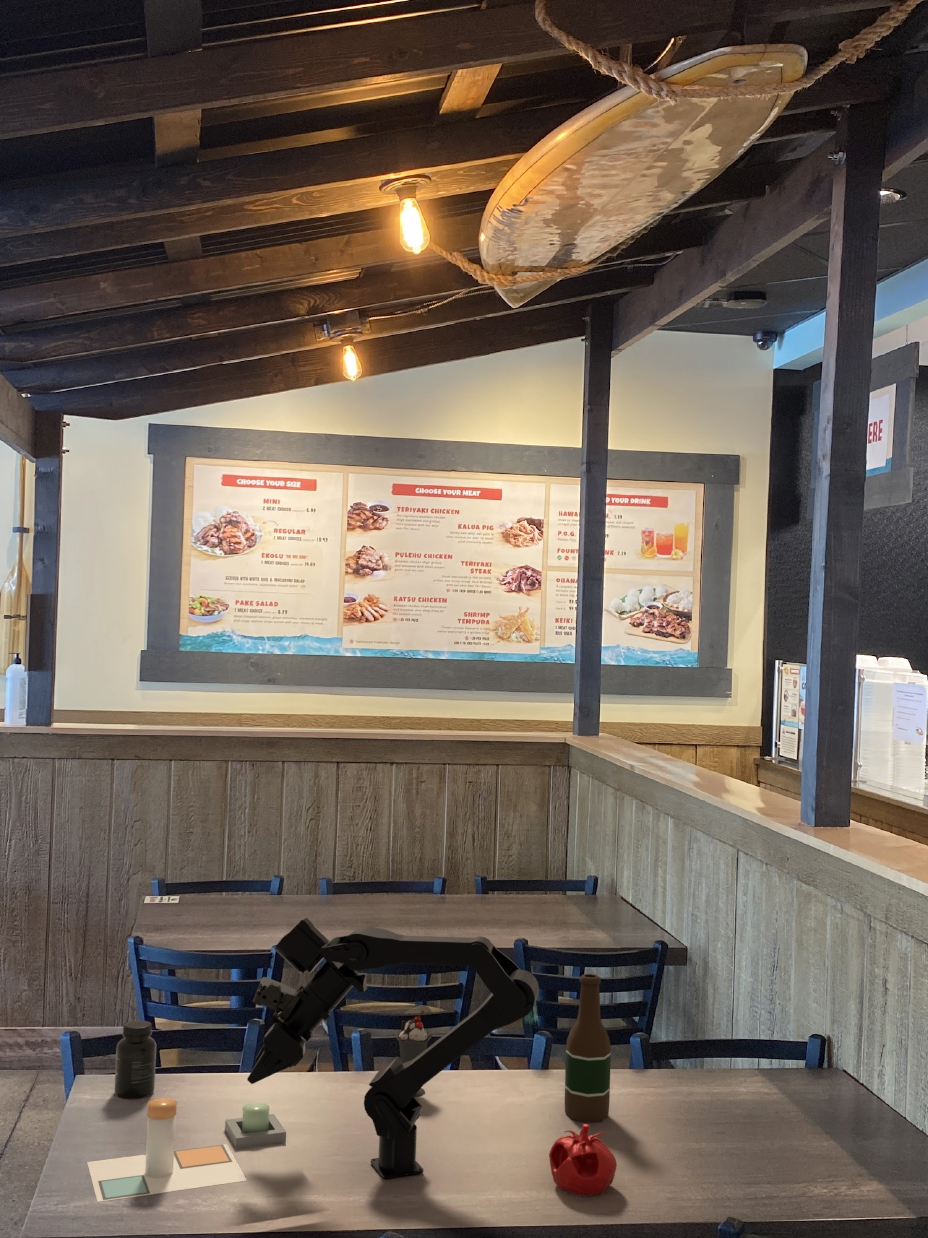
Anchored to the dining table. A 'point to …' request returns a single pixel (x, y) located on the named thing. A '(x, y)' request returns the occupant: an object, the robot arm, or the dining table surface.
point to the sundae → (412, 1041)
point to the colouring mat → (188, 1173)
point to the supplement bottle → (135, 1061)
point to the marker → (160, 1137)
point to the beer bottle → (588, 1059)
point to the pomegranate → (582, 1163)
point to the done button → (255, 1118)
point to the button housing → (255, 1133)
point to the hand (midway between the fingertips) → (253, 1072)
